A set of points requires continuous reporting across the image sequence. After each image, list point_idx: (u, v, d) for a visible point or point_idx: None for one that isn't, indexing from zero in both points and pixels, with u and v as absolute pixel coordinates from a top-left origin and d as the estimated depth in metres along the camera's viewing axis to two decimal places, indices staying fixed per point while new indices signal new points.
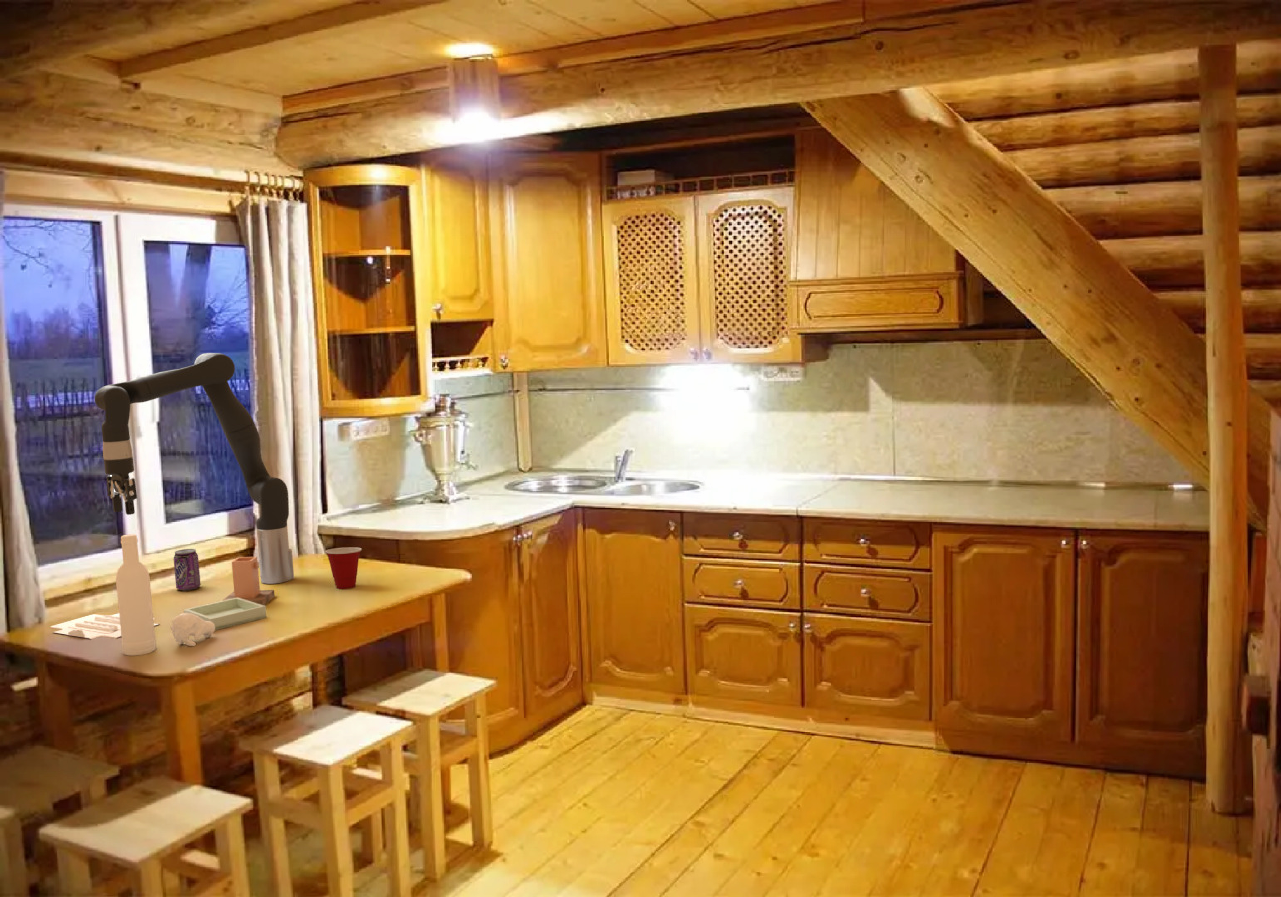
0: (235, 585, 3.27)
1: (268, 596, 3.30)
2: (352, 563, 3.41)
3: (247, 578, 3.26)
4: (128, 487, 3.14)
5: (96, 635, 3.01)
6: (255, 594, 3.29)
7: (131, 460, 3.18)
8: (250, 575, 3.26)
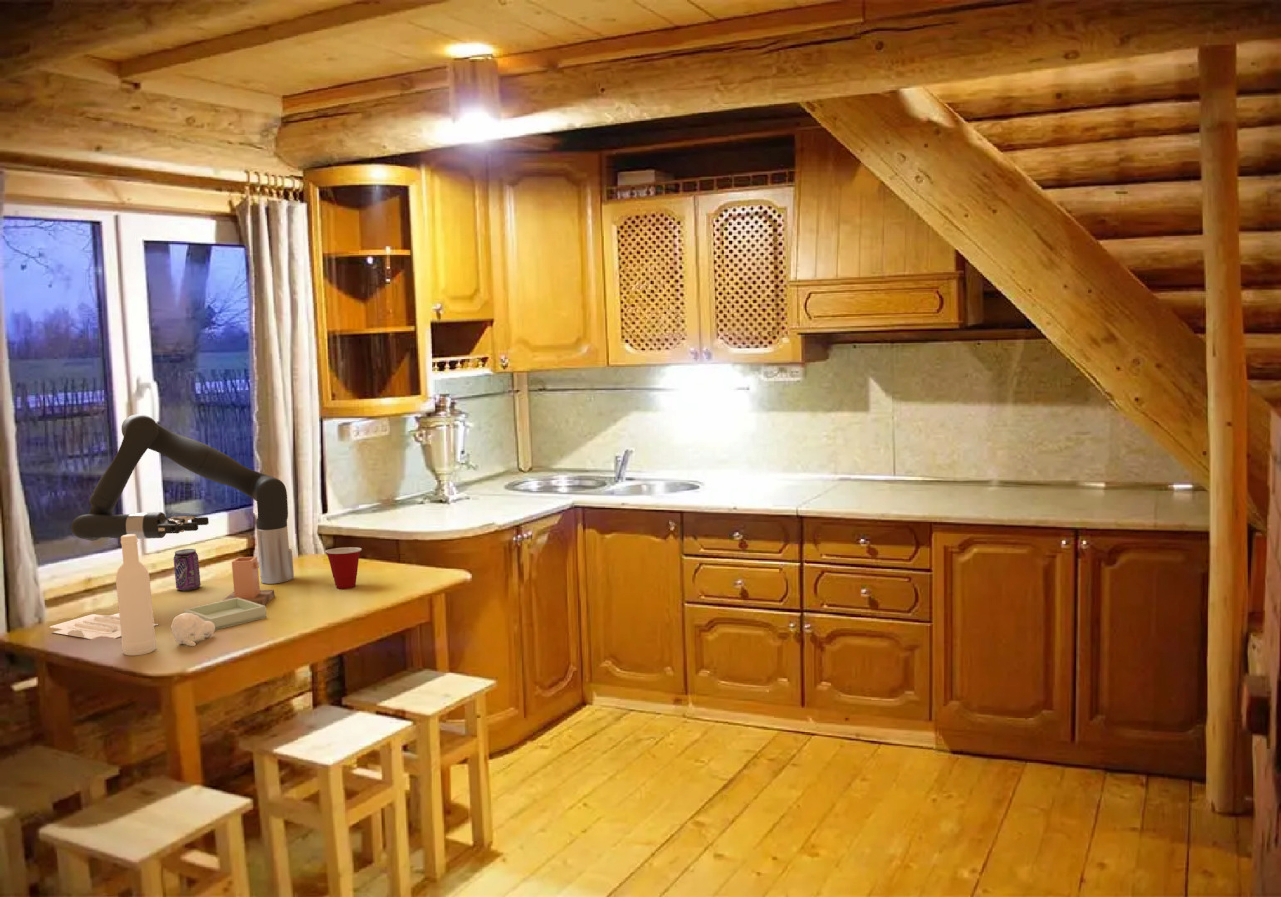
0: (235, 585, 3.27)
1: (268, 596, 3.30)
2: (352, 563, 3.41)
3: (247, 578, 3.26)
4: (165, 532, 3.20)
5: (95, 635, 3.01)
6: (255, 594, 3.29)
7: (146, 519, 3.23)
8: (250, 575, 3.26)
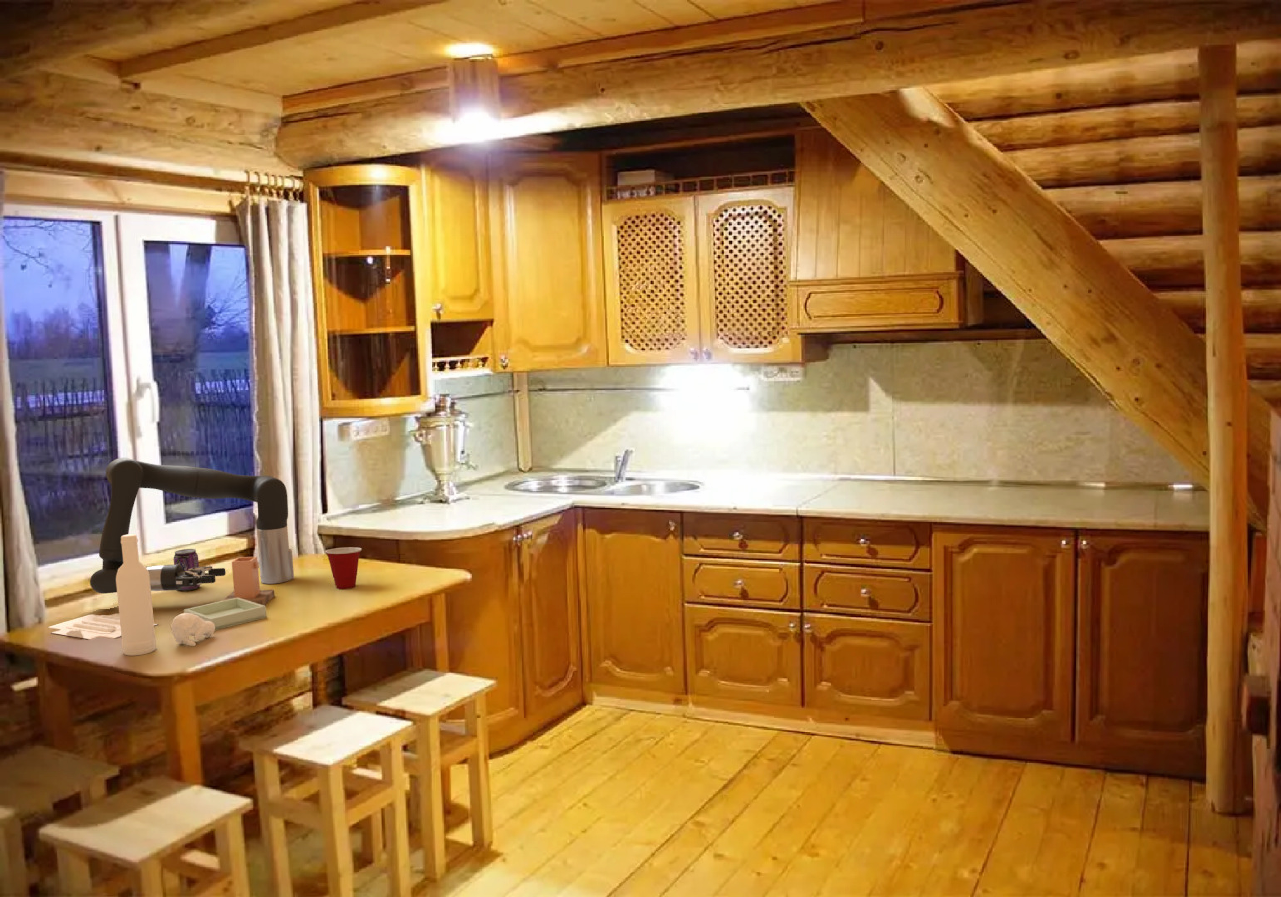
0: (235, 585, 3.27)
1: (268, 596, 3.30)
2: (352, 563, 3.41)
3: (247, 578, 3.26)
4: (183, 585, 3.22)
5: (94, 635, 3.00)
6: (255, 594, 3.29)
7: (163, 571, 3.25)
8: (250, 575, 3.26)
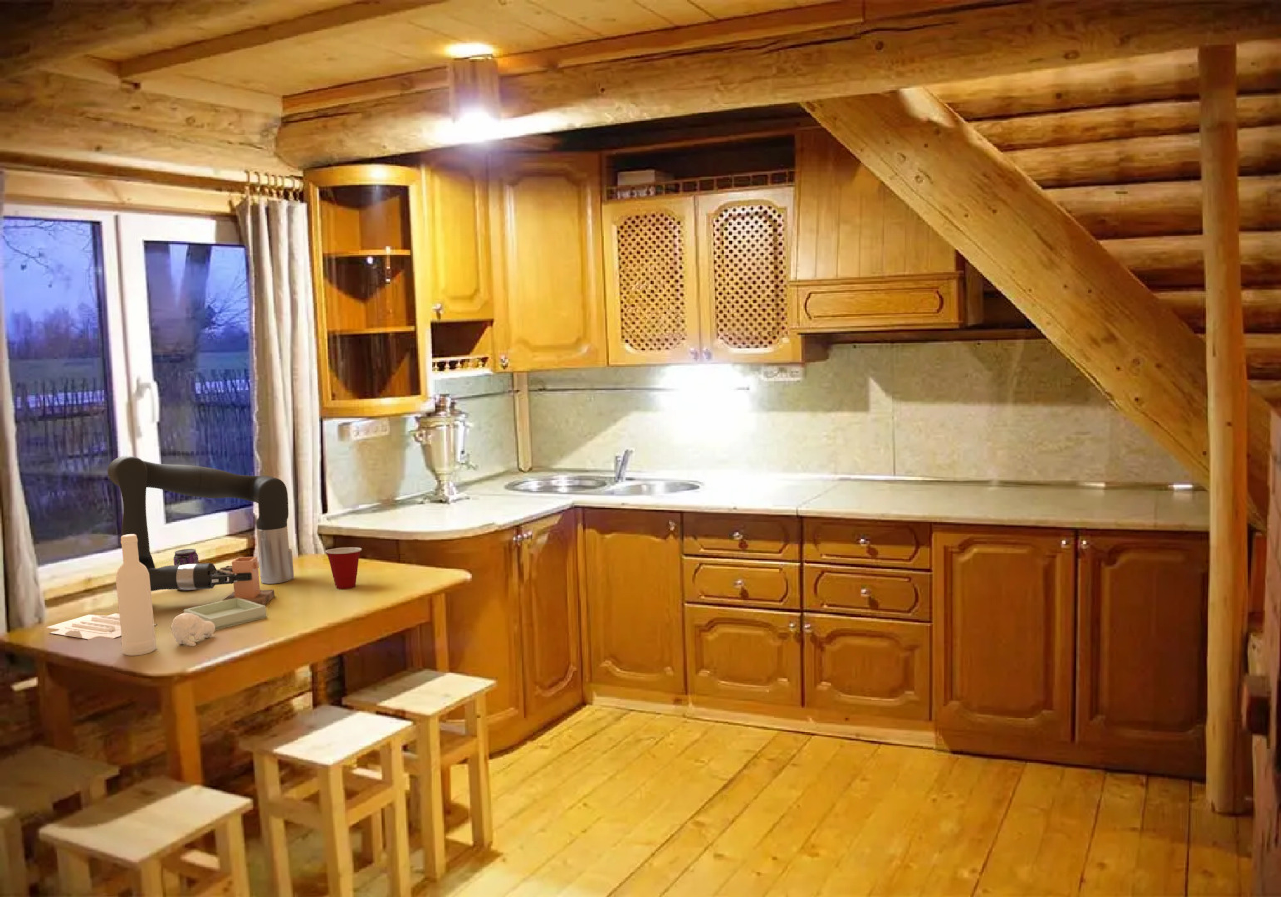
0: (235, 585, 3.27)
1: (268, 596, 3.30)
2: (352, 563, 3.41)
3: None
4: (220, 583, 3.23)
5: (93, 635, 3.00)
6: (255, 594, 3.29)
7: (196, 570, 3.26)
8: None
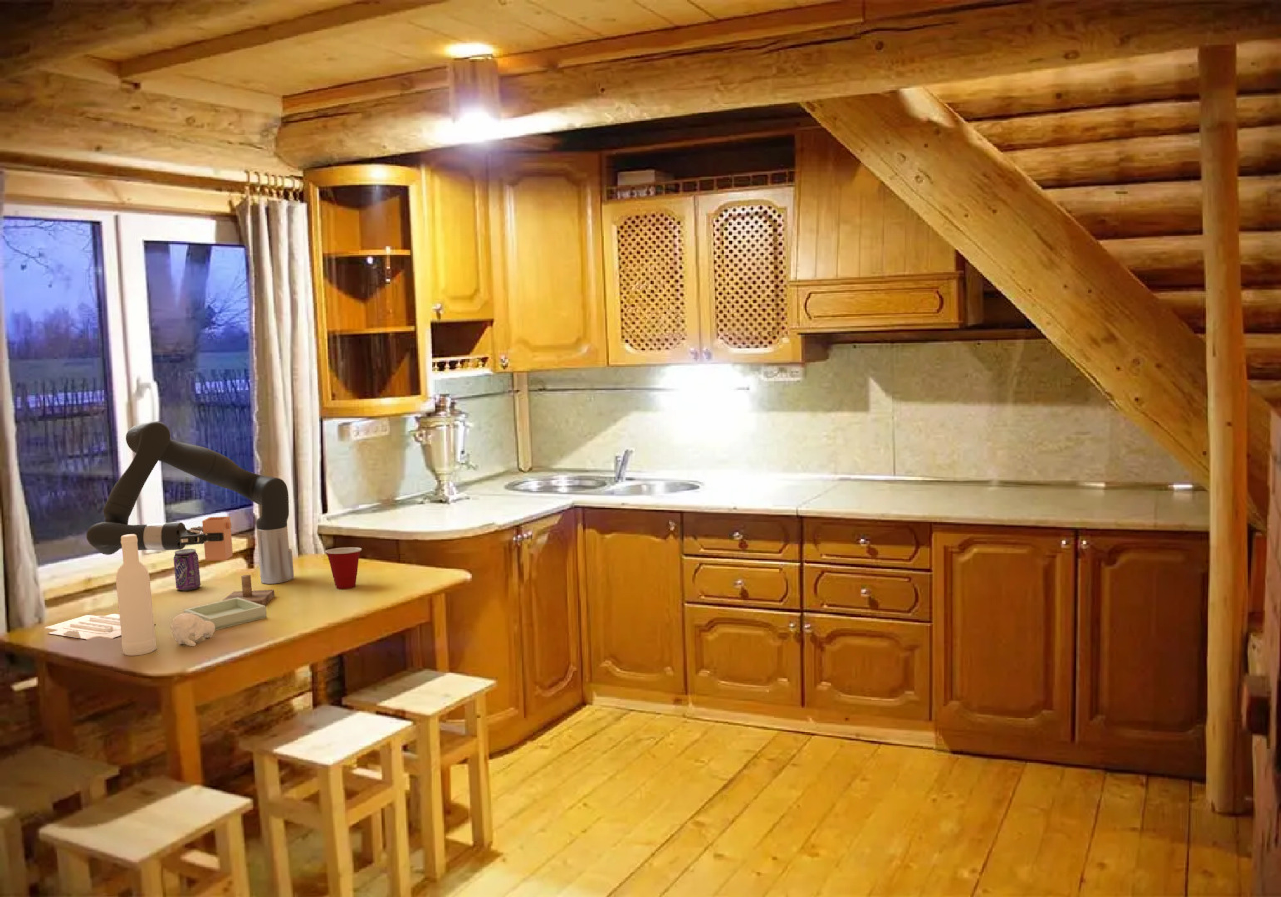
0: (206, 546, 3.07)
1: (268, 596, 3.30)
2: (352, 563, 3.41)
3: None
4: (189, 543, 3.03)
5: (92, 635, 3.00)
6: (227, 556, 3.09)
7: (164, 529, 3.06)
8: None
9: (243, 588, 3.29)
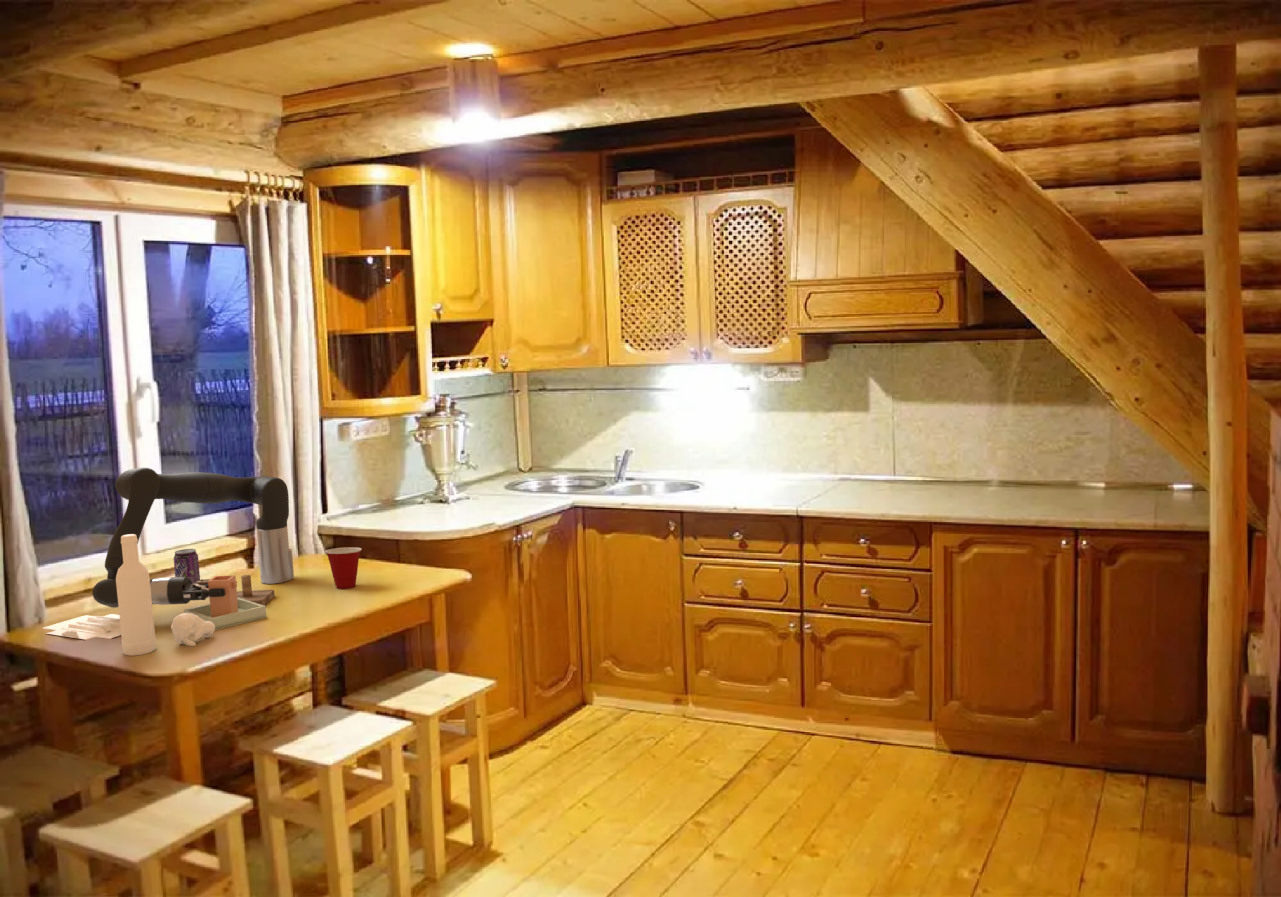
0: (212, 605, 3.09)
1: (268, 596, 3.30)
2: (352, 563, 3.41)
3: (224, 598, 3.09)
4: (191, 599, 3.05)
5: (90, 636, 3.00)
6: None
7: (170, 584, 3.08)
8: (227, 595, 3.09)
9: (243, 588, 3.29)
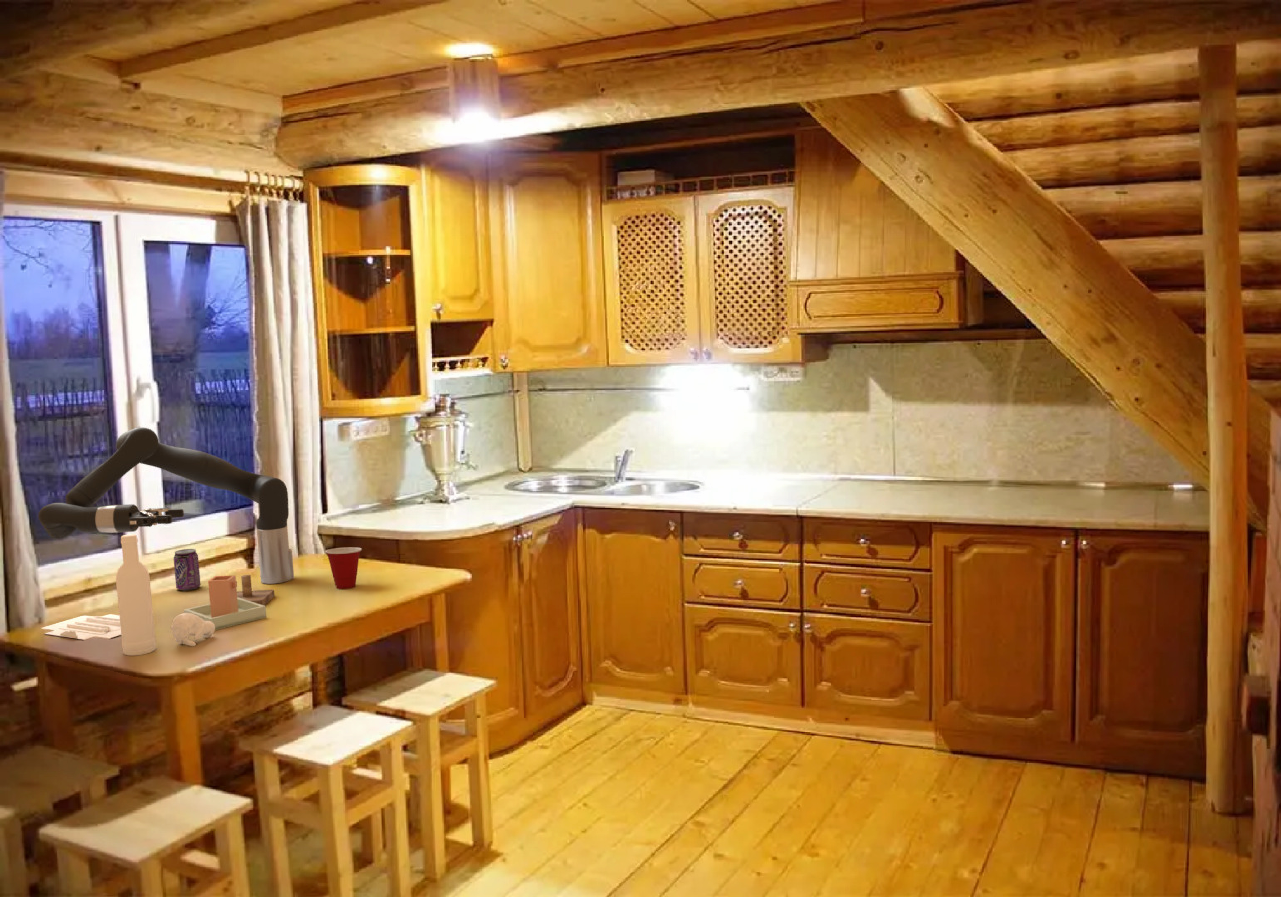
0: (212, 605, 3.09)
1: (268, 596, 3.30)
2: (352, 563, 3.41)
3: (224, 598, 3.09)
4: (137, 525, 3.01)
5: (89, 636, 3.00)
6: None
7: (117, 511, 3.05)
8: (227, 595, 3.09)
9: (243, 588, 3.29)
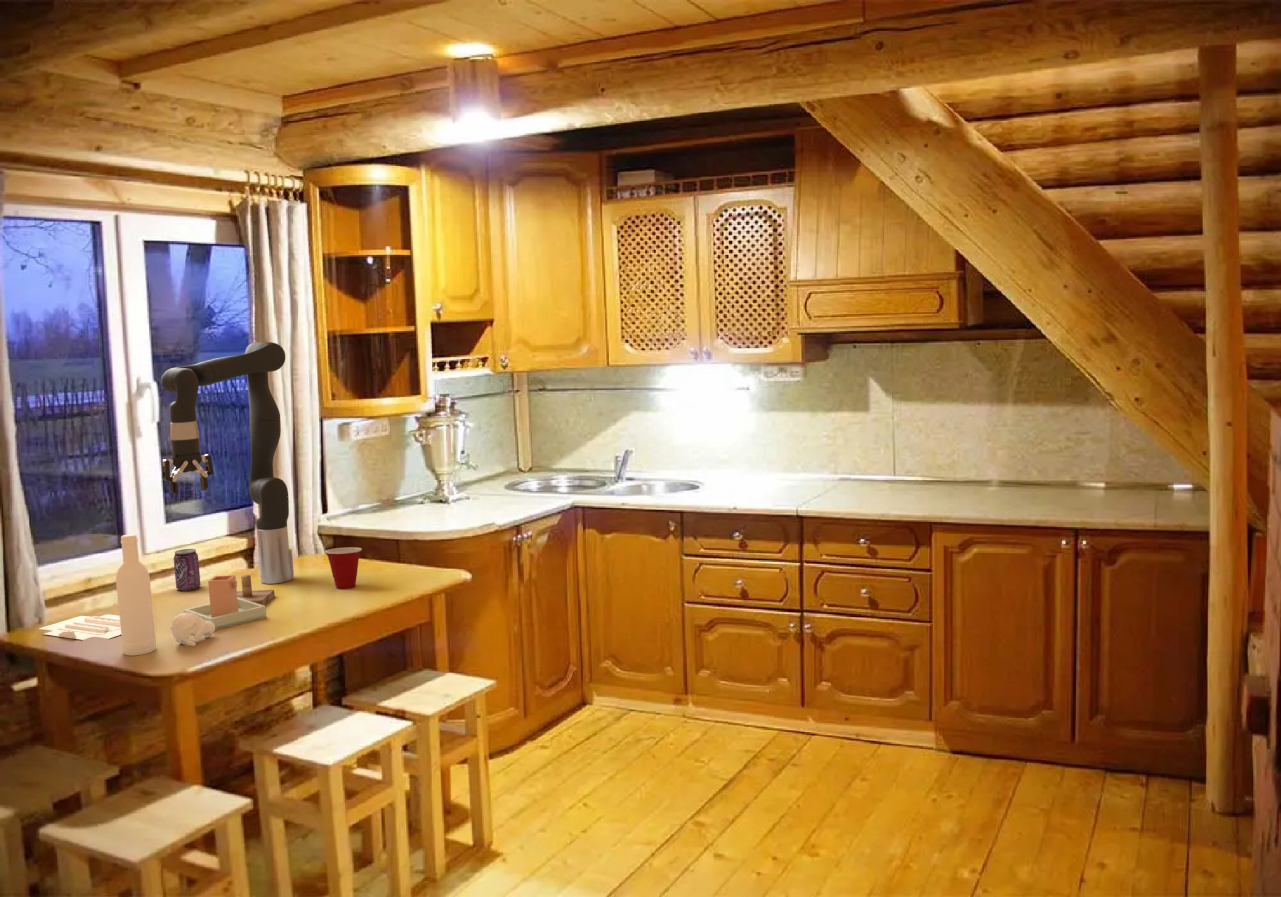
0: (212, 605, 3.09)
1: (268, 596, 3.30)
2: (352, 563, 3.41)
3: (224, 598, 3.09)
4: (162, 468, 3.22)
5: (88, 636, 3.00)
6: None
7: (179, 443, 3.22)
8: (227, 595, 3.09)
9: (243, 588, 3.29)
